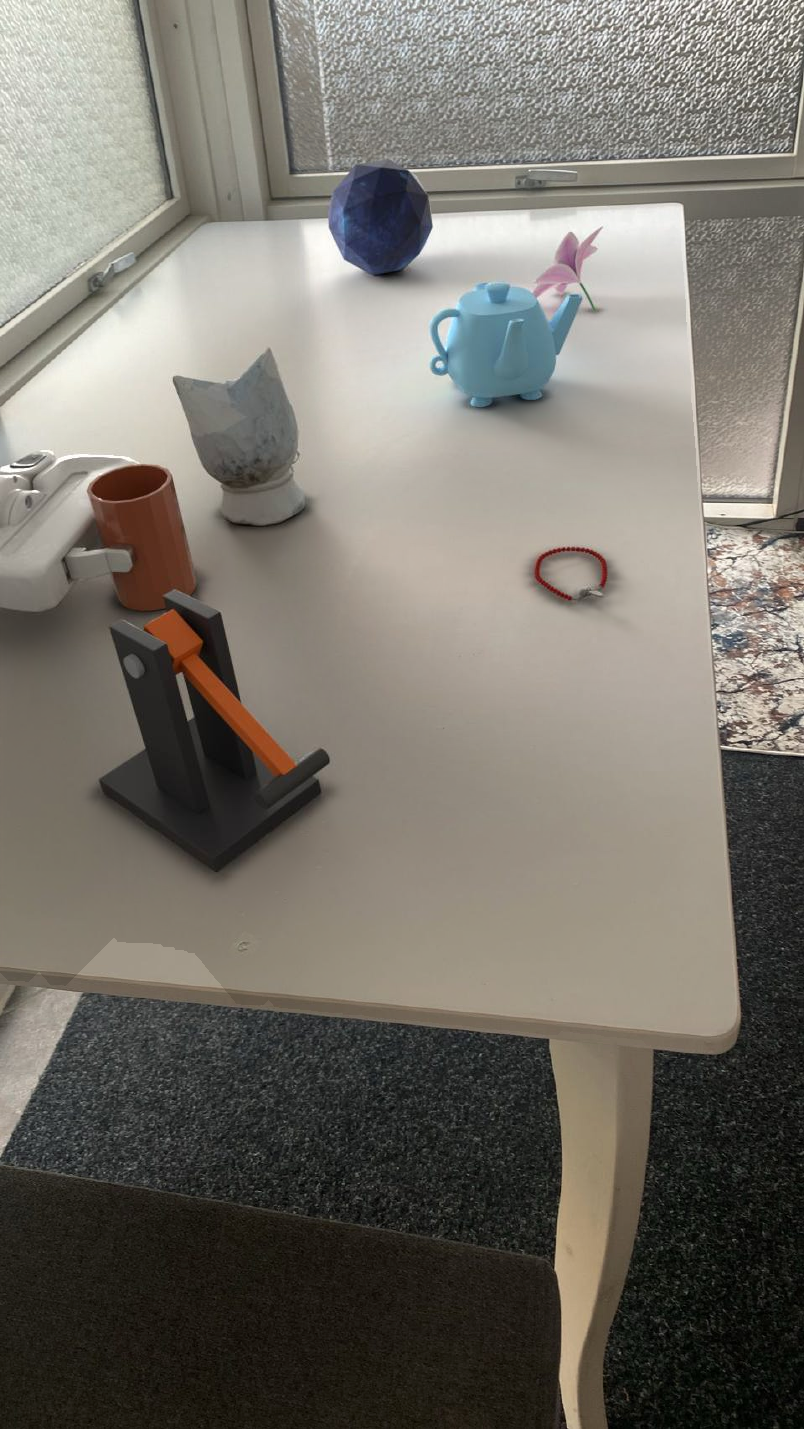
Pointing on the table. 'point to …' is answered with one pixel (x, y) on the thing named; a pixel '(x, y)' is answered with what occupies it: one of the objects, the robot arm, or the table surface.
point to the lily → (567, 265)
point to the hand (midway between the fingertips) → (152, 532)
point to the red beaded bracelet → (583, 592)
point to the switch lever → (234, 711)
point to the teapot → (501, 342)
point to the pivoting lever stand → (192, 748)
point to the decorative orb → (380, 217)
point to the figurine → (247, 441)
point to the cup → (143, 533)
